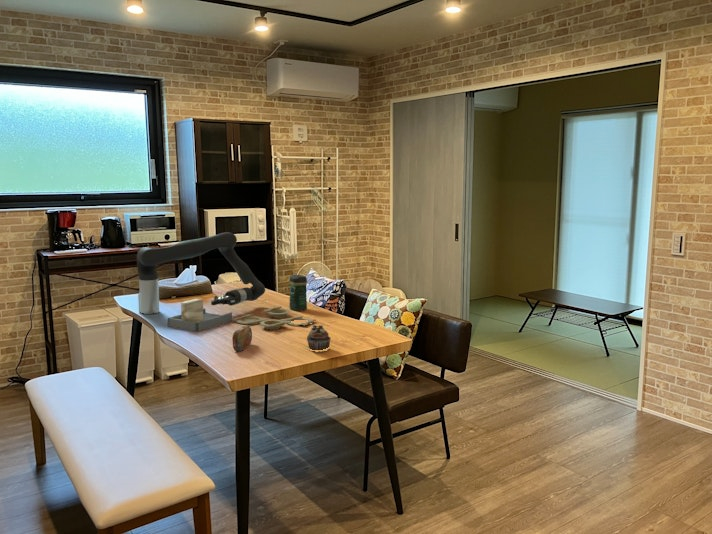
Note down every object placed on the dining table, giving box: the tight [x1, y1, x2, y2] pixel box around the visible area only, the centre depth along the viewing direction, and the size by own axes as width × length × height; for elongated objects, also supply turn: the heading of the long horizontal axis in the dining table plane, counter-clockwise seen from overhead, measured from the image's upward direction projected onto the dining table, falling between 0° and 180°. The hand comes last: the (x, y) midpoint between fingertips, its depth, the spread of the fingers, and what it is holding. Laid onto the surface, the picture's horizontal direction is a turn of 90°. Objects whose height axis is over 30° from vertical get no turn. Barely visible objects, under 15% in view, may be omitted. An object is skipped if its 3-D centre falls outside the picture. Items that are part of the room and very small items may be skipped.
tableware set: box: [233, 305, 317, 331], centre depth 278 cm, size 35×29×4 cm
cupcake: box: [306, 324, 331, 350], centre depth 233 cm, size 10×10×10 cm
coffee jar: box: [288, 274, 308, 312], centre depth 305 cm, size 10×8×19 cm
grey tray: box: [167, 308, 233, 333], centre depth 272 cm, size 18×24×4 cm
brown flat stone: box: [232, 325, 253, 352], centre depth 234 cm, size 15×3×8 cm, turn 168°
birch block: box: [180, 298, 204, 322], centre depth 266 cm, size 4×10×10 cm, turn 152°
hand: (212, 303), depth 278 cm, fingers closed
